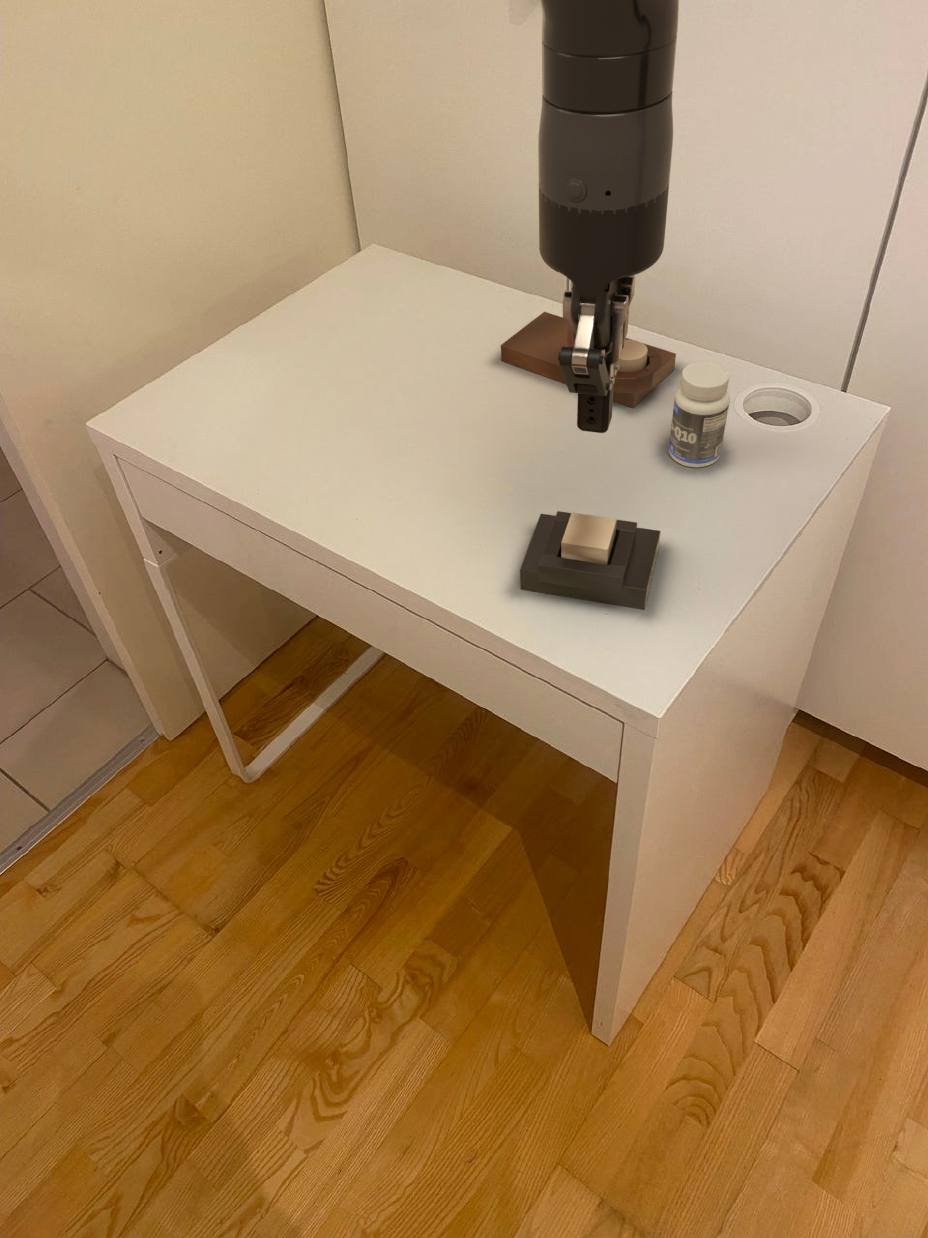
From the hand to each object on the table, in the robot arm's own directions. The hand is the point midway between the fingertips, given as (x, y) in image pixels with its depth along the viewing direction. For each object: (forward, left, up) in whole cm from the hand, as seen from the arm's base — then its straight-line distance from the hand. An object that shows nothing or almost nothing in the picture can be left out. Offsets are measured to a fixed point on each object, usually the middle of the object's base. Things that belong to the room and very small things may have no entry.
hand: (594, 425), depth 68 cm
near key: (0, +1, -11) cm, 11 cm away
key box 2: (0, 0, -14) cm, 14 cm away
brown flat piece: (+6, -30, -14) cm, 34 cm away
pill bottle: (-6, -17, -15) cm, 24 cm away
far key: (+2, -26, -11) cm, 28 cm away
